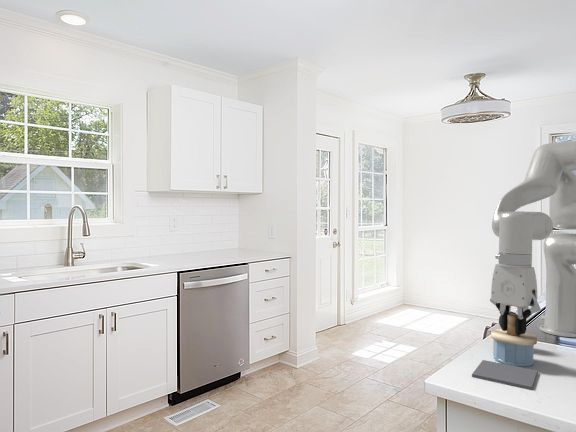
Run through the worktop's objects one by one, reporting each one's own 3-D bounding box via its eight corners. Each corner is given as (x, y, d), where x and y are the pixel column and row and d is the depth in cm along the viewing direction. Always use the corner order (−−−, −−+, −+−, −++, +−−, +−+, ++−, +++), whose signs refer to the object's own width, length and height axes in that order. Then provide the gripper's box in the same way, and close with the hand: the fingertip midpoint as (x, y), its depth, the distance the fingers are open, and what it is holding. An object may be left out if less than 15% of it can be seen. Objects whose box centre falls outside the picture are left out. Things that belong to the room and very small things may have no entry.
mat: (482, 362, 109) (482, 359, 109) (537, 373, 102) (537, 370, 102) (471, 376, 99) (472, 374, 99) (531, 389, 92) (531, 386, 92)
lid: (495, 331, 118) (495, 308, 117) (538, 338, 111) (539, 314, 111) (487, 340, 109) (487, 315, 109) (534, 348, 103) (535, 322, 103)
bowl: (497, 352, 117) (497, 332, 117) (535, 359, 111) (535, 338, 111) (490, 361, 109) (490, 340, 109) (531, 369, 104) (531, 347, 104)
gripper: (477, 257, 115) (476, 326, 116) (537, 264, 101) (536, 342, 101) (495, 256, 119) (494, 323, 119) (556, 263, 105) (554, 338, 105)
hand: (513, 331), depth 110 cm, fingers closed on lid, 3 cm apart
